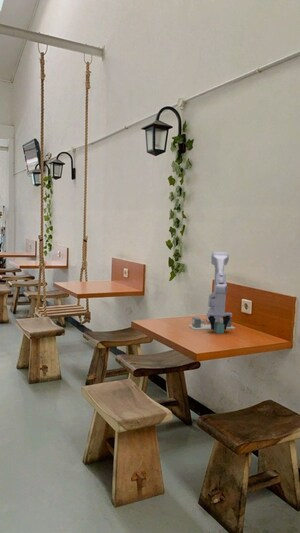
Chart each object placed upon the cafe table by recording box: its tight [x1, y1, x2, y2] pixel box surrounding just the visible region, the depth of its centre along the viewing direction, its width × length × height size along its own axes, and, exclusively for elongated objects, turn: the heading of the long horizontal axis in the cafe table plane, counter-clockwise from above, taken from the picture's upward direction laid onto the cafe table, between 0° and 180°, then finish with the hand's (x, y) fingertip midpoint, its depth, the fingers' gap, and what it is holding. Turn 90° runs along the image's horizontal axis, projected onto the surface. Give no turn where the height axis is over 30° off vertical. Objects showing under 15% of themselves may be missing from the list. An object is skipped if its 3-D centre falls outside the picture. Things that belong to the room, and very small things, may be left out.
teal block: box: [212, 321, 225, 334], centre depth 231 cm, size 6×4×5 cm, turn 14°
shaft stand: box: [188, 316, 236, 331], centre depth 240 cm, size 9×25×6 cm, turn 104°
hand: (218, 329), depth 231 cm, fingers open, 6 cm apart
